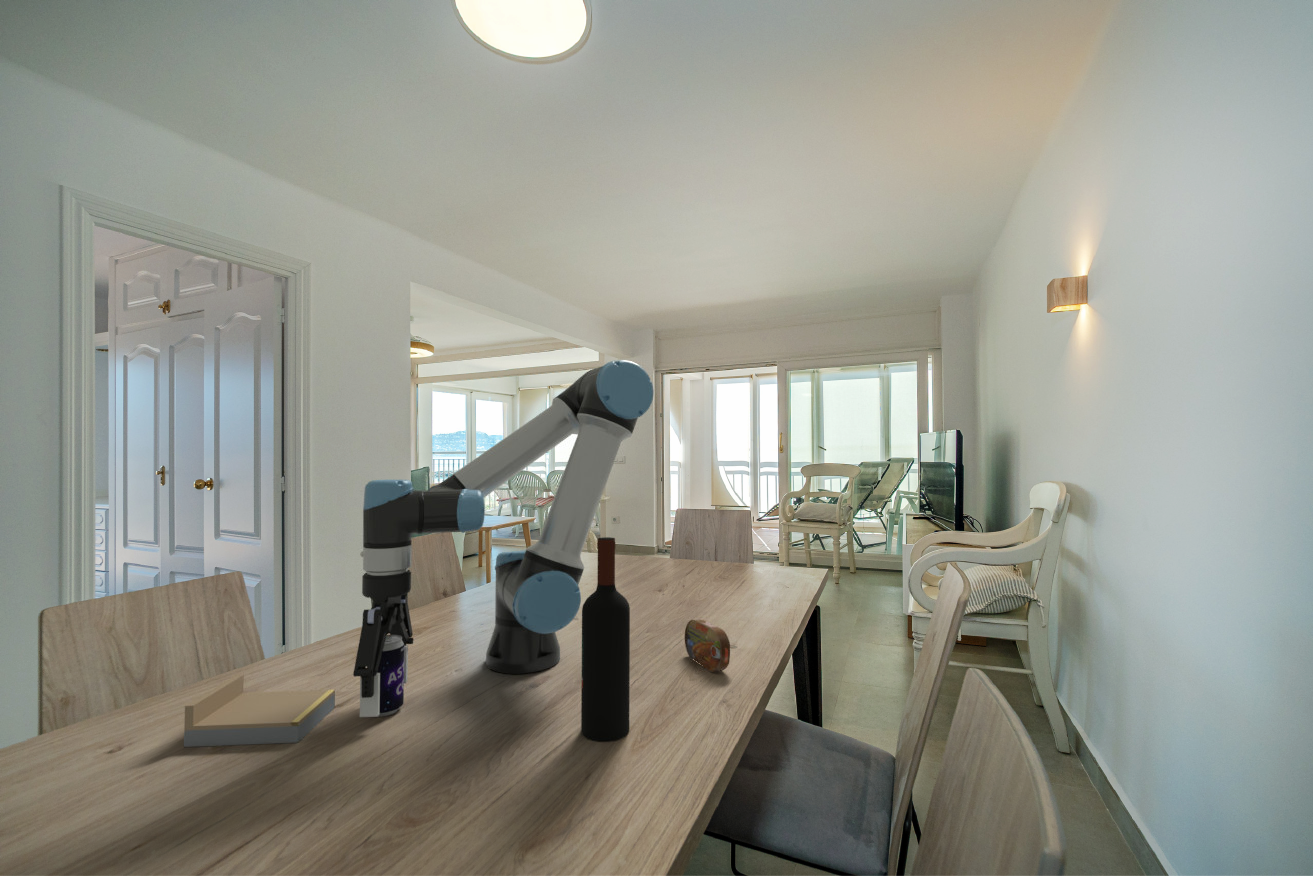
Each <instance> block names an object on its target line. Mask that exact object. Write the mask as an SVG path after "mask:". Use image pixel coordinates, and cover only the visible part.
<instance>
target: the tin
mask: <svg viewBox="0 0 1313 876" xmlns="http://www.w3.org/2000/svg"><path fill="white" fill-rule="evenodd" d="M684 646H685V650H686V652H687V655H688V657H689V658H690V659H691V658H692V659H694V660H695V661H697V662H698V663H700V664H701V665H703V666H704V667H705V668H707V669H708V670H707V669H706V670H707V671H709V670H710V671H712V672H711V673H714V672H719V671H720V672H721V671H724V670H726V669H727V668H728V667H729V665H730V658H731V643H730V638H729V636H728V635H727V633H726V632H725V630H723V628H721V627H719V626H717V625H714V624H712V623H710V622H709V621H706V620H704V619H691V620H689V621H688V622H687V624H686V626H685V630H684ZM692 659H691V660H692ZM695 661H694V662H695ZM698 663H697V664H698ZM701 665H700V666H701ZM704 667H703V668H704ZM705 668H704V669H705ZM710 671H709V672H710Z"/></svg>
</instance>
